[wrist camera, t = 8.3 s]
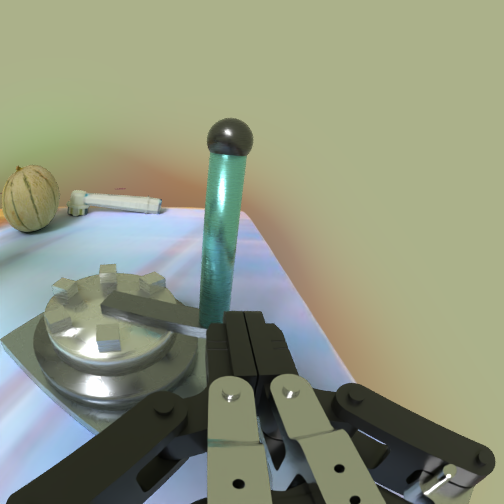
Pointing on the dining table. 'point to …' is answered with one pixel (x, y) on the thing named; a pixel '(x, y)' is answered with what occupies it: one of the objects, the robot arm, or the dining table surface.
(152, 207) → the beige piece
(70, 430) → the dining table surface
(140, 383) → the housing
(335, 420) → the robot arm
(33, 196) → the cantaloupe
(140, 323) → the crank handle wheel
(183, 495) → the dining table surface
